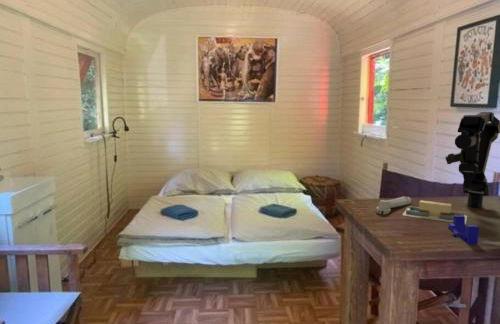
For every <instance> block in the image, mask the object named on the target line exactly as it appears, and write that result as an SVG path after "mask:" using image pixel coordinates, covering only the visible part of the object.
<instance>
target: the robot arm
mask: <svg viewBox="0 0 500 324" xmlns="http://www.w3.org/2000/svg"><path fill="white" fill-rule="evenodd" d="M457 133H460V134H458V135H457V136H456V138H455V139H454V145H455V146H456V148H457V149H460V152H456V153H453V152H451V153H449V154H447V155H445V157H444V159H445V161H446V164H447V165H451V164H453V163H454V164H455V163H457V162H459V165H458V172H459V173H460V174H461V175H462V177H463V178H462V179H463V182H462V187H463V188H462V189H463V190H462V192H463V194H467V201H466V204H465V207H466V208H472V209H473V208H474V209H481V210H484V208H485V207H484V205H483V204H484V197H488V196H490V187H489V182H488V179H487V177H486V174H485V173H486V167H487V164H488V160H489V156H490V153H491V152H490V151H491V147H492V145H493V143H494V142H495V141H496V140H497V139H498V138H499V134H500V119H498V118H497V117H496V116H495V113H494V112H492V111H481V112H479V113H478V114H464V115H463V116H462V117H461V118H460V121H459V125H458V129H457Z"/></svg>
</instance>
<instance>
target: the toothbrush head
mask: <svg viewBox="0 0 500 324" xmlns="http://www.w3.org/2000/svg"><path fill="white" fill-rule="evenodd" d="M412 201H413V200H412V198H411V197H410V196H404V195H403V196H401V197H397V198H393V199H388V200H384V199H381V200H380V201H379V202H378V206H377V207H376V213H377V214H379V215H388V214H390V212H391V211H392V210H391V209H393V208H399V207H404V206H407V205H408V206H410V204H412Z"/></svg>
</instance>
